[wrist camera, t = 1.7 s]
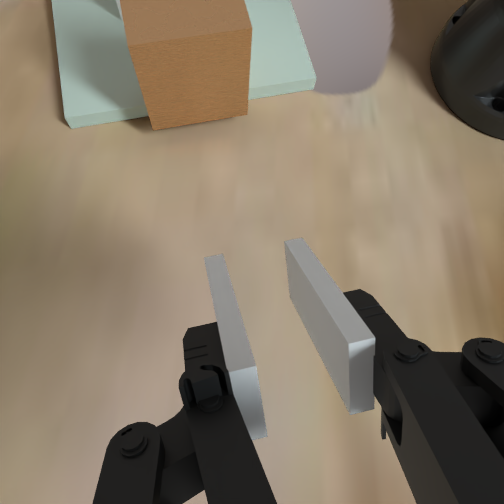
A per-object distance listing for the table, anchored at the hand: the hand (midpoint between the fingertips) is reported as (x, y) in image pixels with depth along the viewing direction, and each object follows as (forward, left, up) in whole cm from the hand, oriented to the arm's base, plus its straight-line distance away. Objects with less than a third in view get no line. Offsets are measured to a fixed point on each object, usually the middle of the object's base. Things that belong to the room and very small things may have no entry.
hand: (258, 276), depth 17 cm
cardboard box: (0, -24, -14) cm, 27 cm away
